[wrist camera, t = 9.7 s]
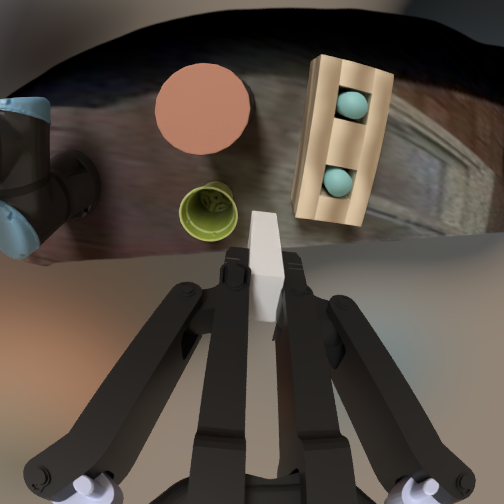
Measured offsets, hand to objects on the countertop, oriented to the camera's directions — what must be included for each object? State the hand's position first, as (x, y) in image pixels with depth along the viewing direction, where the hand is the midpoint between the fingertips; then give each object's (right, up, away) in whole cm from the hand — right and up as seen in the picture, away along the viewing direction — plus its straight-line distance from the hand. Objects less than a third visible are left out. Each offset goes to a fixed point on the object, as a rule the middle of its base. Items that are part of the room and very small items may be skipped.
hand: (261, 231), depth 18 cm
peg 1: (+14, +23, +23) cm, 35 cm away
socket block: (+13, +19, +26) cm, 35 cm away
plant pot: (-7, +9, +33) cm, 35 cm away
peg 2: (+13, +13, +29) cm, 34 cm away
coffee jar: (-5, +23, +25) cm, 34 cm away
